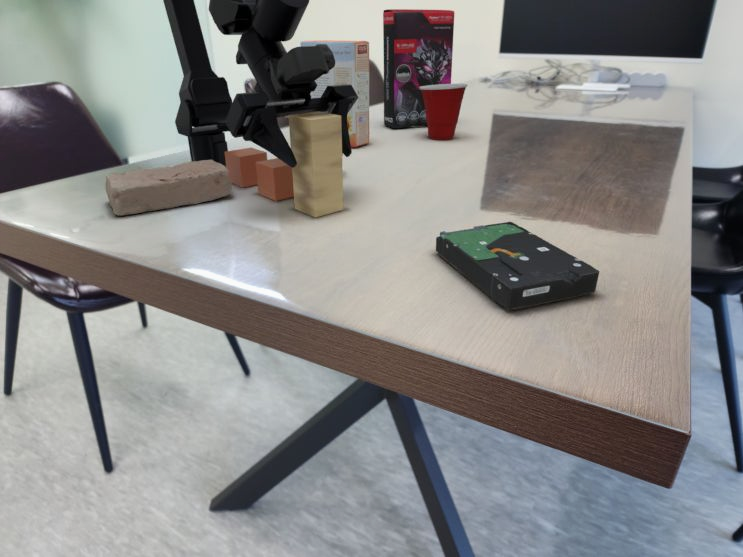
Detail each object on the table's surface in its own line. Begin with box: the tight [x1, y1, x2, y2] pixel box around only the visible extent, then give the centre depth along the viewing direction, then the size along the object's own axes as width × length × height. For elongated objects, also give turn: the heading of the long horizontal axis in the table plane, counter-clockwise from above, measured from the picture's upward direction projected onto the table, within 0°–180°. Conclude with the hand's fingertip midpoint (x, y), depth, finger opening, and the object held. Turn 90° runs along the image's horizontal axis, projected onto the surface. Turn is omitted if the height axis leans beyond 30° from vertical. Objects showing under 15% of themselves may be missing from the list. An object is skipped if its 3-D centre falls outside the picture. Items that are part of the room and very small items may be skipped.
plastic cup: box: [420, 83, 468, 141], centre depth 117 cm, size 11×11×12 cm
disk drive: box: [435, 221, 600, 310], centre depth 53 cm, size 10×3×15 cm
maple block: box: [288, 111, 344, 219], centre depth 69 cm, size 5×5×13 cm
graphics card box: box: [382, 8, 456, 129], centre depth 128 cm, size 17×7×27 cm, turn 115°
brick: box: [104, 160, 233, 216], centre depth 75 cm, size 17×8×5 cm, turn 123°
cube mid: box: [255, 157, 294, 202], centre depth 78 cm, size 5×5×5 cm
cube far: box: [225, 147, 268, 189], centre depth 84 cm, size 5×5×5 cm
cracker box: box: [300, 39, 370, 148], centre depth 109 cm, size 14×6×21 cm, turn 58°
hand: (323, 160), depth 68 cm, fingers open, 9 cm apart
